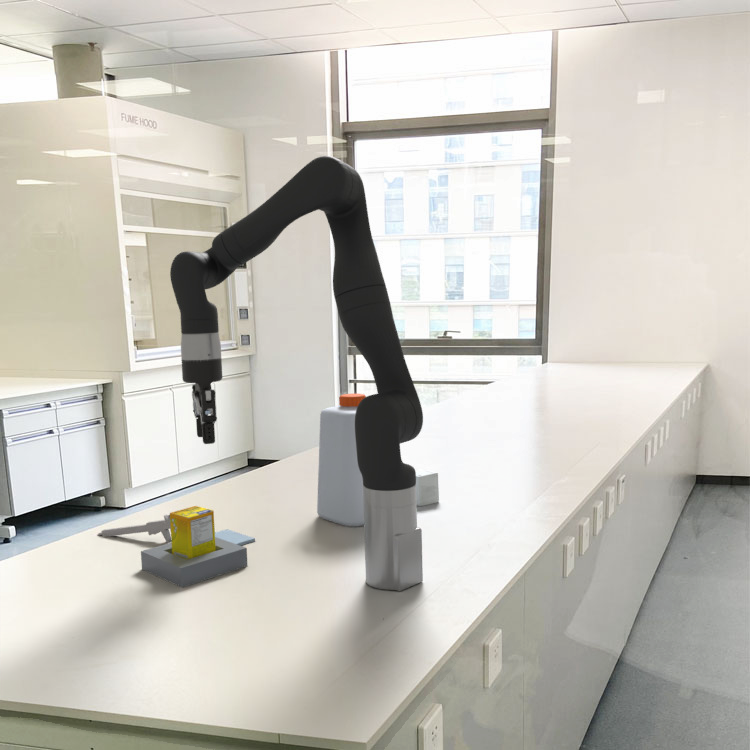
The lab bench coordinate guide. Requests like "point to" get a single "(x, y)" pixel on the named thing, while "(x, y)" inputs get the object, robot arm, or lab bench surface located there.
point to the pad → (234, 537)
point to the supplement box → (192, 532)
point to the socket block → (193, 563)
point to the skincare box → (426, 487)
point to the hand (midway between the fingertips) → (205, 440)
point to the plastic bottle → (340, 464)
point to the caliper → (143, 529)
